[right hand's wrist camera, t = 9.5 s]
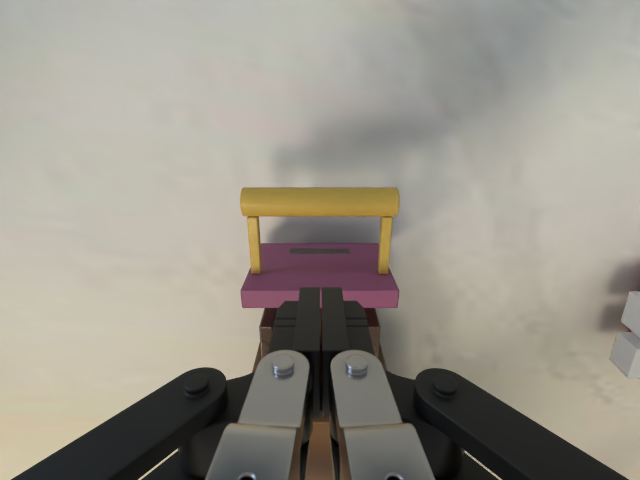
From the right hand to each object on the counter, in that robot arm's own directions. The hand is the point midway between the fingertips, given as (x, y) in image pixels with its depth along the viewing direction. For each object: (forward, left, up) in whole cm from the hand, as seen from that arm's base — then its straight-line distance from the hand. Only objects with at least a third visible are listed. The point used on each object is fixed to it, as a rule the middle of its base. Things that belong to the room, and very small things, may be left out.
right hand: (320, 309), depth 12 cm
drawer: (-7, -4, -14) cm, 16 cm away
